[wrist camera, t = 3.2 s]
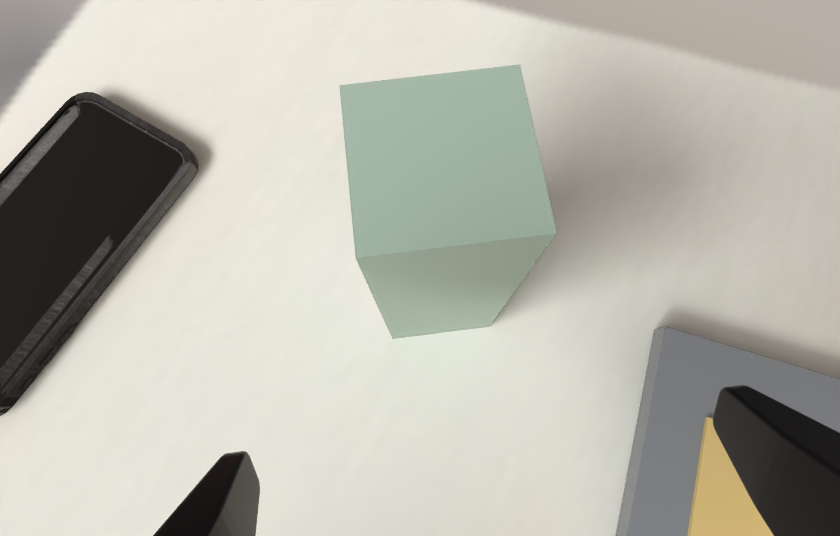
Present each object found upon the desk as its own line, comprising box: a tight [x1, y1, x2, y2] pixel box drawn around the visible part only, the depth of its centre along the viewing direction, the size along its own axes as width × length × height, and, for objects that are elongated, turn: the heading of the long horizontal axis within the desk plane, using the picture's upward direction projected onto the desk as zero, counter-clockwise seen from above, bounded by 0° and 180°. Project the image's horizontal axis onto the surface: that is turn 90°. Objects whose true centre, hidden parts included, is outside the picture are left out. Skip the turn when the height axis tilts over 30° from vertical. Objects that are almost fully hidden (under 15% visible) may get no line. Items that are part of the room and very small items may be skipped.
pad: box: [616, 327, 840, 536], centre depth 19 cm, size 12×10×1 cm
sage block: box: [340, 65, 557, 339], centre depth 17 cm, size 4×4×12 cm
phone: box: [0, 92, 198, 416], centre depth 23 cm, size 8×1×15 cm
